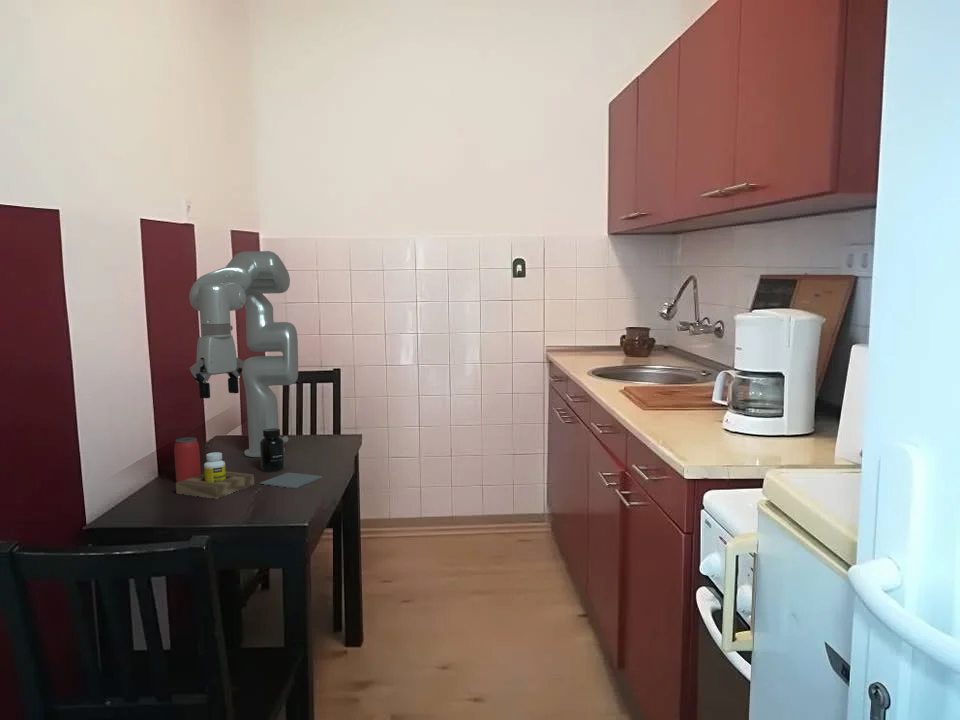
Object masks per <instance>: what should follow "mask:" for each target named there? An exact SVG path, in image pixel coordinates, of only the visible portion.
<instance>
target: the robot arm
mask: <svg viewBox="0 0 960 720" xmlns="http://www.w3.org/2000/svg"><path fill="white" fill-rule="evenodd" d="M290 282H291V278H290V274H289V271H288V269H287V267H286V266H285V264H284V262H283V261H282V259H281V258H280V257H279V255H278V254H276V253H275V252H273V251H269V250H264V251H263V250H262V251H261V250H258V251H257V250H256V251H250V250H249V251H247V250H246V251H241V252H239V253H238V252H237V253H236V254H235V255H234V256H233V257H232V258H231V259H230V261H229V262H228V264H227V265H226V266H225V267H222V268H219V269H216V270H213V271H211V272H208V273H206V274H203V275H201V276H200V277H199V278H197V279H196V280H195V281H194V283H193V284H192V285H191V288H190V291H189V295H188V296H189V303H190V305H191V307H192V308H193V309H194V310H195V311H197V312H199V324H200V336H199V337H198V339H197V344H196V362H195V363H194V364H193V365H192V366H190V367H189V370H190V372H191V374H192V378H194V380H196V381H195V382H196V383H197V384H198V387H199V388H198V390H199V398H200V399H210V398H211V387H210V385H211V384H210V382H209V380H210V378H211V376H216V375H221V374H227V375H228V378H227V389H228V393H229V394H239V392H240V391H239V379H240V377H241V375H242V379H243V384H244V389H245V399H246V414H247V428H248V429H247V432H248V448H247V449H245V450H244V456H246V457H251V458H261V455H260V442H261V440H262V439H263V438H264V436H263V430H265V429H270V428H277V429H280V426H279V409H278V405H279V404H278V398H277V396H276V394H275V392H274V391H273V390H272V389H271V388H270V387H272V386H274V387H275V386H290V385H291V386H292V385H294V384H296V382H297V381H298V379H299V378H298V377H299V341H298V340H299V339H298V332H297V328H296V326H295V324H293V323H291V322H288V321H276V322H275V320H274V306H273V305H272V303H271V301H269V299H268V298H267V296H265V294H283V293H285V292H287V291H288V290H289V288H290ZM243 307H244V308H245V326H246V327H245V329H246V330H245V332H246V333H245V334H246V335H245V336H246V339H245V340H246V346H247V348H248V349H249V350H250V351H252V352H255V353H269V352H270V353H273V352H274V353H275V352H278V353H279V352H280V353H282V355H259V356H258V355H257V356H251V357H248V358H246V359H245V360H242V359H241V358H239V357H238V356H237V351H236V345H235V340H234V336H233V335H232V330H233V329H234V327H233V325H231V312H232V311H234V312H235V311H238V310H240V309H241V308H243ZM279 437H280V438H282V439H283V441H284V444H286V443H287V442H288V441H289V437H288V436H287V435H285V436H282V437H281V436H279ZM285 450H286V449H285V447H284V453H285V452H286V451H285Z"/></svg>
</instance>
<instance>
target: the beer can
mask: <svg viewBox="0 0 960 720" xmlns="http://www.w3.org/2000/svg"><path fill="white" fill-rule="evenodd" d="M173 447H174V448H173V452H174V467H175V481H176V482H180V481H183V480H186V479H189V478H192V477H195V476H198V475H201V474H202V471H201V469H202V468H201V452H200V444H199V442H198V440H197V437H194V436H193V437H192V436H191V437H189V436H188V437H187V436H186V437H180V438H177V439H175V443H174V446H173Z"/></svg>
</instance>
